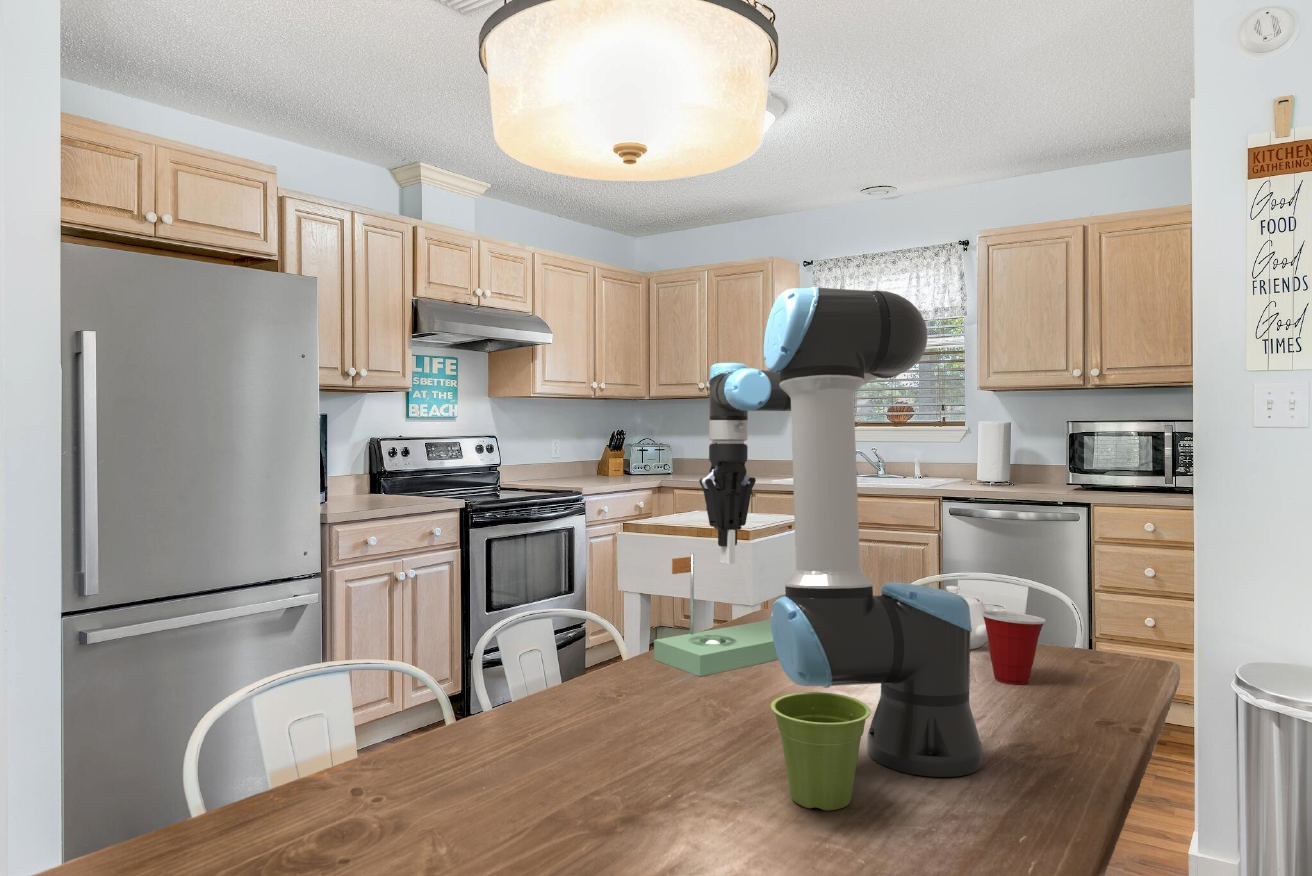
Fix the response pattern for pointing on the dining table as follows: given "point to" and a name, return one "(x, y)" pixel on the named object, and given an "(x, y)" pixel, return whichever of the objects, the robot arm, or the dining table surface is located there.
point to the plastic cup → (1012, 644)
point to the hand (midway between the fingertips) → (727, 562)
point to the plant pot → (820, 746)
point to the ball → (712, 642)
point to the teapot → (975, 618)
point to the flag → (688, 566)
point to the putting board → (718, 649)
